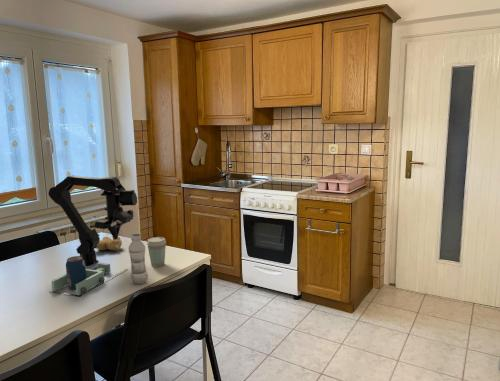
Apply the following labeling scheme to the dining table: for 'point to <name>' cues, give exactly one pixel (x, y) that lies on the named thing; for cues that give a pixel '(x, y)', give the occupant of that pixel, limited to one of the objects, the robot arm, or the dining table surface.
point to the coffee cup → (157, 251)
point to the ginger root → (109, 244)
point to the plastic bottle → (137, 260)
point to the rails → (90, 289)
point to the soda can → (75, 271)
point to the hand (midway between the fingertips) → (115, 238)
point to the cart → (91, 281)
